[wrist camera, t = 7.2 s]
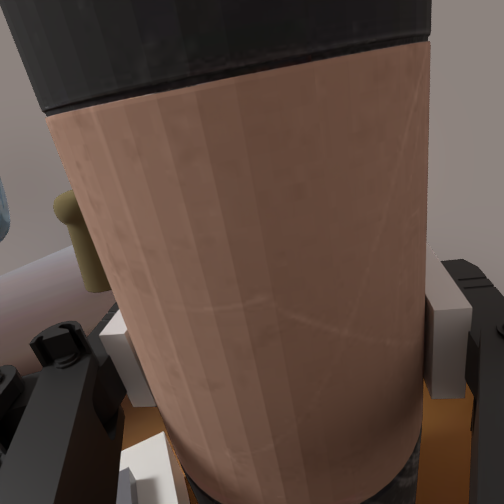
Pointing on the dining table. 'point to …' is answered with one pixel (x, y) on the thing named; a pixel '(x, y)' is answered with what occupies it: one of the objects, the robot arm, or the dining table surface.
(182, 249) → the travel mug
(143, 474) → the socket strip
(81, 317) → the dining table surface
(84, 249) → the pepper shaker
